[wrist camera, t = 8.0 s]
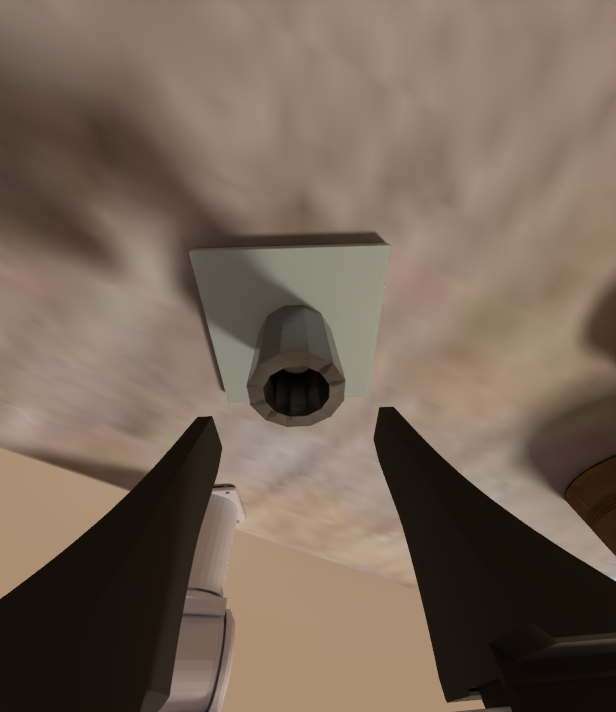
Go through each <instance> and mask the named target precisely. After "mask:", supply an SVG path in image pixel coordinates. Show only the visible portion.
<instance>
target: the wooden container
mask: <svg viewBox="0 0 616 712" xmlns="http://www.w3.org/2000/svg"><path fill="white" fill-rule="evenodd" d="M565 498H566V501H567V502H568V504H569V505H570V506H571V507H572V508H573V509H574V510H575V511H576V513H577V514H578V515H579V516H580V517H581V518H582V519H583V520H584V521H585V522H586V524H587V525H588V526H589V527H590V528H591V529H592V530H593V531H594V532H595V534H596V535H597V536H598V537H599V538H600V539H601V540H602V542H603V543H604V544H605V545H606V546H607V547H608V548H609V549H610V550H611V551H612V553H613V554H614V555H615V556H616V456H615V457H612V458H610V459H608V460H606V461H604V462H602V463H600V464H598V465H596V466H595V467H593V468H591V469H589V470H588V471H586V472H585V473H583V474H582V475H581V476H579V477H578V478H577V479H576V480H575V481H574V482H573V483H572V484H571V485H570V487H569V488H568V490H567V491H566V495H565Z"/></svg>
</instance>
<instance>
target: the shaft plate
mask: <svg viewBox="0 0 616 712" xmlns="http://www.w3.org/2000/svg"><path fill="white" fill-rule="evenodd" d="M390 250H391V245H390V244H388V243H357V244H324V245H291V246H258V247H225V248H194V249H192V250H190V251H188V252H189V256H190V260H191V263H192V267H193V271H194V275H195V279H196V282H197V286H198V290H199V294H200V297H201V301H202V305H203V309H204V313H205V316H206V320H207V324H208V328H209V332H210V335H211V339H212V343H213V347H214V350H215V354H216V358H217V362H218V366H219V369H220V373H221V377H222V381H223V385H224V388H225V392H226V396H227V400H228V403H237V402H250V400H249V395H248V390H247V381H248V377H249V373H250V369H251V365H252V361H253V357H254V353H255V349H256V345H257V340H258V336H259V332H260V330H261V328H262V326H263V324H264V322H265V320H266V318H267V316H268V315H269V314H271V313H273V312H274V311H276V310H278V309H279V308H281V307H282V306H288V305H305V306H307V307H309V308H311V309H313V310H315V311H317V312H319V313H321V314H322V316H323V317H324V319H325V321H326V322H327V324H328V325H329V327H330V328H331V332H332V335H333V339H334V342H335V346H336V349H337V353H338V356H339V360H340V363H341V367H342V370H343V374H344V377H345V380H346V381H345V393H344V397H354V396H369V390H370V383H371V376H372V370H373V363H374V356H375V350H376V343H377V336H378V330H379V323H380V316H381V310H382V303H383V296H384V290H385V283H386V276H387V270H388V263H389V256H390ZM284 369H285V370H286V371H288V372H290V373H302V372H305V371H306V370H308V369H309V368H308V367H306V366H298V367H285V368H284Z"/></svg>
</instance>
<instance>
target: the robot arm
mask: <svg viewBox="0 0 616 712" xmlns="http://www.w3.org/2000/svg"><path fill="white" fill-rule="evenodd" d="M374 443H375V447H376V451H377V455H378V459H379V463H380V465H381V468H382V471H383V474H384V476H385V479H386V482H387V485H388V487H389V490H390V493H391V495H392V498H393V501H394V503H395V506H396V509H397V512H398V514H399V517H400V520H401V523H402V526H403V530H404V533H405V537H406V541H407V544H408V548H409V552H410V555H411V559H412V563H413V567H414V571H415V575H416V578H417V582H418V586H419V591H420V595H421V599H422V603H423V607H424V611H425V615H426V620H427V624H428V629H429V633H430V638H431V642H432V647H433V651H434V656H435V661H436V666H437V670H438V675H439V679H440V683H441V686H442V689H443V693H444V696H445V699H446V701H447V702H448V703H449V702H459V701H470V700H480V699H482V701H483V703H484V706H485V709H478V710H468V711H457V712H616V581H614V580H613V579H611V578H609V577H608V576H606V575H604V574H603V573H601V572H599V571H598V570H596V569H595V568H593V567H591V566H590V565H588V564H586V563H585V562H583V561H581V560H580V559H578V558H577V557H575V556H573V555H572V554H570V553H568V552H567V551H565V550H564V549H562V548H561V547H559V546H558V545H556V544H554V543H553V542H551V541H550V540H548V539H547V538H545V537H544V536H542V535H541V534H539V533H538V532H536V531H535V530H533V529H532V528H531V527H529V526H528V525H526V524H525V523H523V522H522V521H521V520H519V519H518V518H516V517H515V516H514V515H512V514H511V513H510V512H508V511H507V510H505V509H504V508H503V507H501V506H500V505H499V504H497V503H496V502H494V501H493V500H492V499H491V498H489V497H488V496H487V495H485V494H484V493H483V492H482V491H480V490H479V489H478V488H477V487H476V486H474V485H473V484H472V483H471V482H469V481H468V480H467V479H466V478H465V477H463V476H462V475H461V474H460V473H459V472H458V471H457V470H456V469H454V468H453V467H452V466H451V465H450V464H449V463H448V462H447V461H446V460H445V459H443V458H442V457H441V456H440V455H439V454H438V453H437V452H436V451H435V450H434V449H433V448H432V447H431V446H430V445H429V444H428V443H427V442H426V441H425V440H424V439H423V438H422V437H421V436H420V435H419V434H418V433H417V432H416V431H415V429H414V428H413V427H412V426H411V425H410V424H409V423H408V422H407V421H406V420H405V419H404V418H403V416H402V415H401V414H400V413H399V412H398V411H397V410H396V409H395V408H394V407H379V412H378V418H377V423H376V428H375V434H374ZM221 452H222V445H221V442H220V439H219V436H218V433H217V430H216V427H215V423H214V420H213V417H212V416H208V417H197V418H196V419H195V421H194V422H193V423H192V424H191V425H190V426H189V428H188V429H187V430H186V431H185V432H184V434H183V435H182V436H181V437H180V438H179V439H178V441H177V442H176V443H175V444H174V445H173V446H172V448H171V449H170V450H169V451H168V452H167V453H166V454H165V455H164V457H163V458H162V459H161V460H160V461H159V462H158V463H157V464H156V465H155V467H154V468H153V469H152V470H151V471H150V472H149V473H148V474H147V475H146V476H145V477H144V478H143V479H142V480H141V481H140V482H139V483H138V484H137V485H136V486H135V487H134V488H133V489H132V490H131V491H130V492H129V493H128V494H127V495H126V496H125V497H124V498H123V499H122V500H121V501H120V502H119V503H118V504H117V505H116V506H115V507H114V508H113V509H112V510H111V511H110V512H108V513H107V514H106V515H105V516H104V517H103V518H102V519H101V520H99V521H98V522H97V523H96V524H95V525H94V526H92V527H91V528H90V529H89V530H88V531H87V532H85V533H84V534H83V535H82V536H81V537H79V539H77V540H76V541H75V542H74V543H72V544H71V545H70V546H69V547H68V548H66V549H65V550H64V551H63V552H61V553H60V554H59V555H58V556H56V557H55V558H54V559H53V560H51V561H50V562H49V563H48V564H46V565H45V566H44V567H42V568H41V569H40V570H38V571H37V572H36V573H35V574H33V575H32V576H31V577H29V578H28V579H27V580H25V581H24V582H23V583H21V584H20V585H19V586H18V587H16V588H15V589H13V590H12V591H11V592H9V593H8V594H7V595H5V596H4V597H2V598H1V599H0V712H221V709H222V704H223V700H224V697H225V693H226V690H227V686H228V682H229V677H230V672H231V667H232V660H233V654H234V645H235V621H234V618H233V616H232V612H231V610H230V609H226V604H227V598H224V597H223V594H224V589H225V583H226V577H227V571H228V566H229V560H230V553H231V548H232V543H233V537H234V531H235V526H236V523H243V522H245V520H246V517H245V514H244V511H243V508H242V505H241V502H240V499H239V495H238V492H237V489H236V488H234V487H225V488H213V486H214V483H215V480H216V476H217V473H218V468H219V463H220V458H221Z"/></svg>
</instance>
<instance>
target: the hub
mask: <svg viewBox="0 0 616 712" xmlns="http://www.w3.org/2000/svg"><path fill="white" fill-rule="evenodd" d="M298 366H306V367H308V368H309V369H308V370H306V371H305V372H302V373H290V372H288V371H286V370H285V369H284V368H285V367H298ZM345 381H346V380H345V377H344V374H343V370H342V367H341V363H340V360H339V356H338V353H337V349H336V346H335V342H334V339H333V335H332V332H331V328H330V327H329V325H328V324H327V322H326V321H325V319H324V317H323V316H322V314H321V313H319V312H317V311H315V310H313V309H311V308H309V307H307V306H305V305H288V306H282V307H281V308H279V309H278V310H276V311H274V312H273V313H271V314H269V315H268V316H267V318H266V320H265V322H264V324H263V326H262V328H261V330H260V332H259V336H258V340H257V345H256V349H255V353H254V357H253V361H252V365H251V369H250V373H249V377H248V381H247V390H248V395H249V400H250V405H251V406H252V407H253V408H254V409H255V410H256V411H257V412H258V413H259V414H260V415H261V416H262V417H263V418H264V419H265V420H268V421H271V422H274V423H277V424H280V425H283V426H286V427H294V426H311V425H313V424H315V423H317V422H320V421H322V420H324V419H326V418H328V417H331V416H332V414H333V413H334V412H335V411H336V409H337V408H338V407H339V406H340V405H341V403H342V402H343V401H344V393H345Z"/></svg>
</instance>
